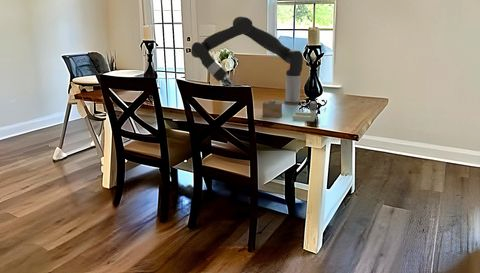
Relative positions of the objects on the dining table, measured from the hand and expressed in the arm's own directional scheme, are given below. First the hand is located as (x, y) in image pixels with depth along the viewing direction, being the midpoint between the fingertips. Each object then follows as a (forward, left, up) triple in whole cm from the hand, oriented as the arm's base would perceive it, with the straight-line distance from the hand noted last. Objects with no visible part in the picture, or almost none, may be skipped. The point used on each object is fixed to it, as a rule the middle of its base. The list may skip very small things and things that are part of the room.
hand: (238, 93), depth 237 cm
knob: (+3, +43, -6) cm, 44 cm away
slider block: (0, +20, -12) cm, 24 cm away
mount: (0, +38, -12) cm, 40 cm away
